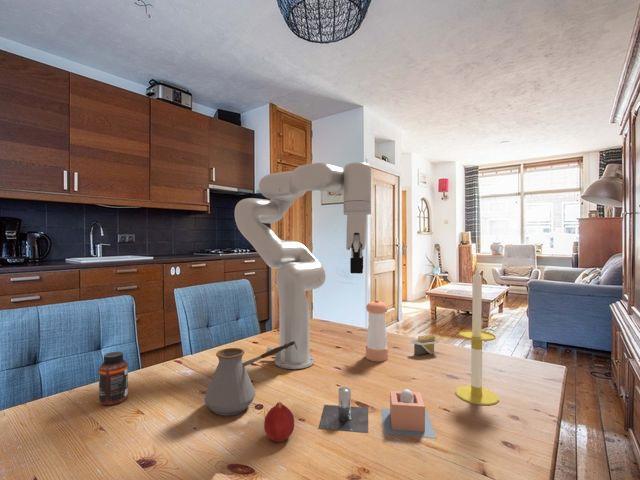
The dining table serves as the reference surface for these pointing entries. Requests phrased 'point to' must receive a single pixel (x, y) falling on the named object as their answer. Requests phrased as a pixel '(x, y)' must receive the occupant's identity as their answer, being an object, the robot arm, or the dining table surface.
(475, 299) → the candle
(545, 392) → the dining table surface
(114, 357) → the supplement bottle
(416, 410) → the collar
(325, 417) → the stand
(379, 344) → the salt shaker
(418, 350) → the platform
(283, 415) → the onion
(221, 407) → the coffee pot
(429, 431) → the blue peg base
